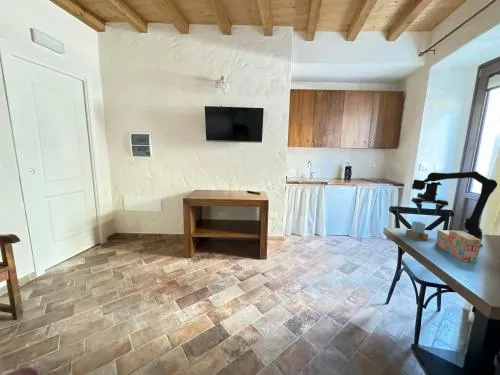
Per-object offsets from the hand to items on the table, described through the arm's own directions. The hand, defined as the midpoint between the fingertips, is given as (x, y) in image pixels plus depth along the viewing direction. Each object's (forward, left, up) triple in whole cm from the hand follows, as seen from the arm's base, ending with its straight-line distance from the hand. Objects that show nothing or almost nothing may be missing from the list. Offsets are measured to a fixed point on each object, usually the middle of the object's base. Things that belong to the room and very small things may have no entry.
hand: (427, 214), depth 146 cm
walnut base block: (+10, +13, -13) cm, 21 cm away
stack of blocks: (0, +33, -13) cm, 35 cm away
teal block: (+10, +13, -9) cm, 19 cm away
